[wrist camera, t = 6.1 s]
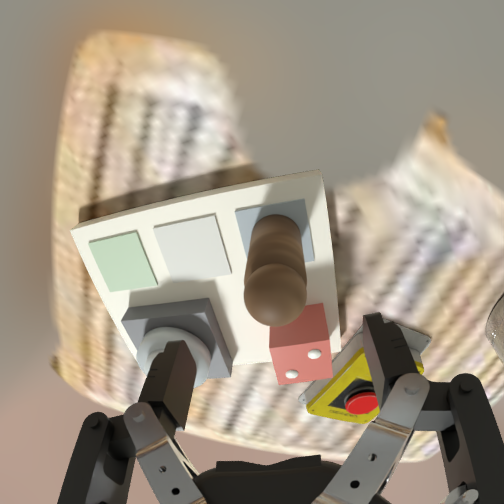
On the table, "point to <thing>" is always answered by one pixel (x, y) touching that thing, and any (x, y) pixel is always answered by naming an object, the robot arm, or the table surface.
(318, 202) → the board
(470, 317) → the table surface
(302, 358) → the die
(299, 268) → the pawn
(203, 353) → the dome
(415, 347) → the emergency button
